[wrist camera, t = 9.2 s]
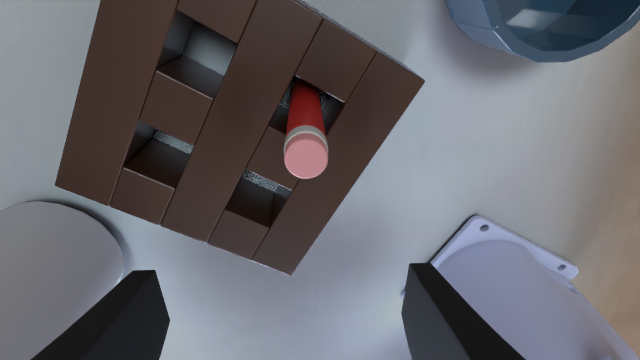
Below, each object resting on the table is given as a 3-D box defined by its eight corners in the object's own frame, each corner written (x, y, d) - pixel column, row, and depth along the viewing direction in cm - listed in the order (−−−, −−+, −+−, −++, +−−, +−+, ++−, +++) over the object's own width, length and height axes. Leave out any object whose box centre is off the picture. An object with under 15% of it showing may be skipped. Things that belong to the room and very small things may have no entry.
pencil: (324, 86, 18) (338, 151, 11) (310, 111, 18) (315, 187, 11) (298, 72, 17) (296, 129, 10) (285, 97, 18) (274, 168, 11)
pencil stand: (404, 64, 17) (426, 81, 14) (292, 236, 22) (290, 276, 19) (164, -86, 14) (126, -107, 11) (94, 153, 19) (53, 185, 16)
